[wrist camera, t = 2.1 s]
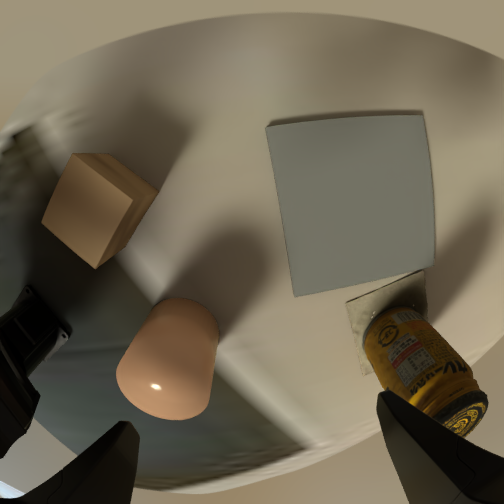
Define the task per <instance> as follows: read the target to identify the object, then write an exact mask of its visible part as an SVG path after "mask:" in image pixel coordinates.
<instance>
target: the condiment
mask: <svg viewBox="0 0 504 504" xmlns="http://www.w3.org/2000/svg"><path fill="white" fill-rule="evenodd" d="M413 305H414V306H413ZM346 307H347V311H348V314H349V319H350V322H351V326H352V330H353V334H354V338H355V343H356V347H357V352H358V356H359V360H360V365H361V369H362V374H363V376H365V375H367V374H370V373H372V372H375V373H376V375H377V377H378V380H379V381H380V383H381V385H382V388H384V390H385V391H386V390H391V391H393V392H394V393H396V394H397V395H399V396H400V397H402V398H403V399H405V400H406V401H407V402H409V403H410V404H412V405H413V406H415V407H416V408H418V409H419V410H421V411H422V412H424V413H426V414H427V415H429V416H430V417H432V418H433V419H435V420H436V421H438V422H439V423H441V424H442V425H444V426H445V427H447V428H449V429H450V430H452V431H453V432H455V433H456V434H458V436H461V437H463V438H465V437H466V436H467V435H468V434H470V432H471V431H473V430H474V428H475V427H476V426H477V425H478V424H479V422H480V421H481V420H482V418H483V416H484V414H485V413H486V410H487V408H488V399H487V395H486V394H485V393H484V392H483V391H481V390H480V389H479V386H478V384H477V381H476V380H475V379H473V372H472V370H471V368H470V366H469V365H468V364H467V363H466V362H465V361H464V360H463V359H462V357H461V356H460V355H459V354H458V353H457V352H456V351H455V350H454V349H453V348H452V347H451V346H450V345H449V344H448V342H447V341H446V340H445V339H444V338H443V337H442V336H441V335H440V334H439V333H438V332H437V331H436V330H435V329H434V328H433V327H432V326H431V325H430V324H429V323H428V317H427V300H426V290H425V278H424V270H423V271H421V272H418V273H416V274H413V275H411V276H409V277H406V278H404V279H402V280H400V281H397V282H394V283H392V284H390V285H388V286H385V287H383V288H380V289H378V290H376V291H374V292H372V293H370V294H367V295H365V296H362V297H360V298H358V299H356V300H353V301H351V302H348V303H346ZM374 311H375V314H374V315H373V312H374ZM372 316H373V318H371V317H372Z"/></svg>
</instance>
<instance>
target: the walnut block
mask: <svg viewBox="0 0 504 504" xmlns="http://www.w3.org/2000/svg"><path fill="white" fill-rule="evenodd" d="M158 193H159V191H158V190H157V189H155V188H154V187H153V186H151V185H150V184H148V183H147V182H146V181H144V180H143V179H142V178H140V177H139V176H138V175H136V174H135V173H134V172H132V171H131V170H130V169H128V168H127V167H125V166H124V165H123V164H121V163H120V162H119V161H117V160H116V159H115V158H113V157H112V156H111V155H109V154H93V153H72V155H71V157H70V159H69V161H68V163H67V165H66V167H65V169H64V171H63V173H62V175H61V177H60V179H59V181H58V184H57V186H56V188H55V190H54V192H53V195H52V197H51V199H50V202H49V204H48V207H47V209H46V211H45V214H44V217H43V219H42V222H41V223H42V224H43V225H44V226H46V227H47V228H48V229H49V230H50V231H51V232H52V233H53V234H54V235H55V236H57V237H58V238H59V239H60V240H61V241H62V242H63V243H65V244H66V245H67V246H68V247H69V248H70V249H72V250H73V251H74V252H75V253H76V254H77V255H79V256H80V257H81V258H82V259H83V260H85V261H86V262H87V263H88V264H90V265H91V266H92V267H93V268H94V269H96V268H97V267H99V266H100V265H101V264H103V263H104V262H105V261H107V260H108V259H109V258H111V257H112V256H113V255H115V254H116V253H118V252H119V251H120V250H122V249H123V248H124V247H126V245H127V243H128V241H129V240H130V238H131V236H132V235H133V233H134V231H135V230H136V228H137V226H138V225H139V223H140V221H141V220H142V218H143V216H144V215H145V213H146V212H147V210H148V208H149V207H150V205H151V204H152V202H153V201H154V199H155V198H156V196H157V194H158Z"/></svg>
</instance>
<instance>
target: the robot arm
mask: <svg viewBox="0 0 504 504" xmlns="http://www.w3.org/2000/svg"><path fill="white" fill-rule="evenodd" d="M69 337H70V334H69V332H68V331H67V330H66V329H65V328H64V327H63V325H62V324H61V323H60V322H59V321H58V319H57V318H56V317H55V316H54V315H53V313H52V312H51V311H50V310H49V309H48V307H47V306H46V305H45V304H44V302H43V301H42V300H41V298H40V297H39V296H38V294H37V293H36V292H35V290H34V289H33V288H32V287H31V286H30V285H27V286H26V287H24V289H23V291H22V292H21V294H20V295H19V297H18V298H17V300H16V302H15V303H14V305H13V307H12V308H11V309H10V310H9V311H8V312H6V313H5V314H4V315H3V316H1V317H0V459H1V458H3V457H4V456H5V454H6V453H7V451H8V450H9V448H10V447H11V446H12V444H13V443H14V442H15V441H16V440H17V439H18V438H20V437H21V436H23V435H24V434H26V432H27V430H28V429H29V427H30V424H31V421H32V419H33V416H34V413H35V410H36V407H37V404H38V402H39V399H40V396H41V395H40V394H39V392H38V391H37V390H36V389H35V388H34V387H33V385H32V383H31V382H30V380H29V379H28V377H29V376H30V374H31V373H32V372H33V371H34V370H35V368H36V367H37V366H38V365H39V364H40V363H41V362H42V360H43V361H47V360H48V359H49V358H50V357H51V356H52V355H53V354H54V353H55V352H56V351H57V350H58V349H59V348H60V347H61V346H62V345H63V344H64V343H65V342H66V341H67V340H68V339H69ZM376 410H377V415H378V418H379V422H380V425H381V429H382V432H383V436H384V439H385V443H386V446H387V449H388V452H389V454H390V456H391V459H392V461H393V464H394V466H395V469H396V471H397V474H398V476H399V479H400V481H401V484H402V486H403V489H404V491H405V493H406V496H407V499H408V501H409V504H504V458H503V457H501V456H498V455H496V454H493V453H491V452H489V451H487V450H485V449H482V448H480V447H478V446H476V445H474V444H473V443H471V442H469V441H468V440H466V439H464V438H463V437H461V436H458V434H456V433H455V432H453V431H452V430H450V429H449V428H447V427H445V426H444V425H442V424H441V423H439V422H438V421H436V420H435V419H433V418H432V417H430V416H429V415H427V414H426V413H424V412H422V411H421V410H419V409H418V408H416V407H415V406H413V405H412V404H410V403H409V402H407V401H406V400H405V399H403V398H402V397H400V396H399V395H397V394H396V393H394V392H393V391H391V390H386V391H383V392H380V393H379V394H378V399H377V407H376ZM139 443H140V436H139V434H138V432H137V431H136V429H135V428H134V426H133V425H132V423H131V422H129V421H119V422H118V423H117V424H115V425H114V426H113V427H112V428H111V429H110V430H108V431H107V432H106V433H105V434H104V435H103V436H101V437H100V438H99V439H98V440H97V441H95V442H94V443H93V444H92V445H91V446H90V447H88V448H87V449H86V450H85V451H83V452H82V453H81V454H80V455H79V456H77V457H76V458H75V459H74V460H73V461H71V462H70V463H69V464H68V465H66V466H65V467H64V468H63V470H60V471H59V472H58V473H56V474H55V475H54V476H52V477H51V478H50V479H48V480H47V481H46V482H44V483H42V484H41V485H39V486H38V487H36V488H34V489H33V490H31V491H29V492H28V493H26V494H24V495H23V496H21V497H18V498H0V504H130V502H131V497H132V492H133V487H134V482H135V477H136V472H137V463H138V452H139Z"/></svg>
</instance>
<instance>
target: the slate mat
mask: <svg viewBox="0 0 504 504" xmlns="http://www.w3.org/2000/svg"><path fill="white" fill-rule="evenodd" d="M265 130H266V135H267V140H268V145H269V150H270V155H271V161H272V166H273V172H274V177H275V183H276V188H277V194H278V200H279V205H280V211H281V217H282V223H283V229H284V235H285V241H286V248H287V254H288V260H289V267H290V273H291V280H292V287H293V294H294V297H299V296H304V295H310V294H315V293H320V292H324V291H329V290H334V289H339V288H344V287H348V286H353V285H357V284H362V283H366V282H371V281H375V280H379V279H384V278H388V277H392V276H396V275H400V274H404V273H408V272H412V271H416V270H420V269H424V268H428V267H432V266H434V204H433V189H432V177H431V168H430V159H429V151H428V144H427V138H426V132H425V126H424V120H423V115H388V116H364V117H348V118H336V119H325V120H315V121H306V122H298V123H291V124H283V125H277V126H270V127H266V128H265Z"/></svg>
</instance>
